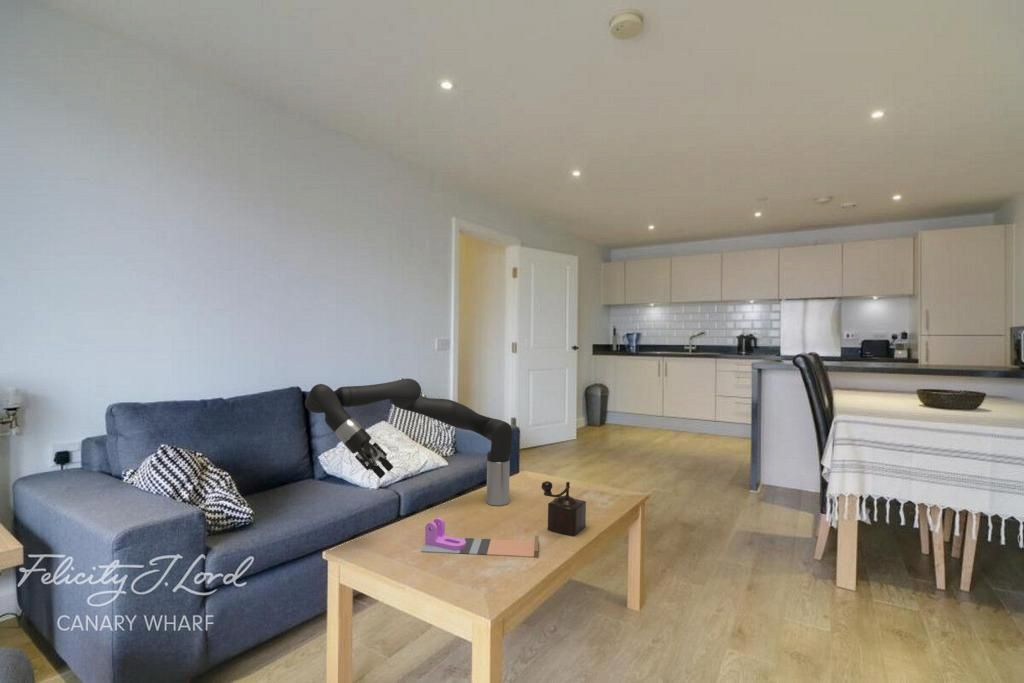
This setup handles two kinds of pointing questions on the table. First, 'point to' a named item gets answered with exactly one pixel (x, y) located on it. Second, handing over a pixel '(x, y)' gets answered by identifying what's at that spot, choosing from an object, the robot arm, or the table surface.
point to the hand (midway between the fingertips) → (387, 472)
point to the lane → (492, 547)
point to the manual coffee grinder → (565, 512)
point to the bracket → (442, 536)
